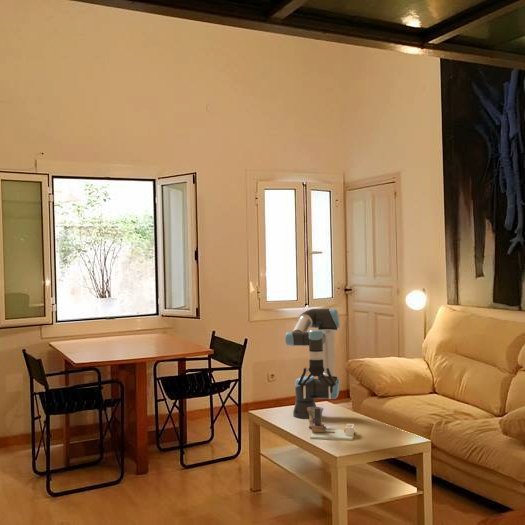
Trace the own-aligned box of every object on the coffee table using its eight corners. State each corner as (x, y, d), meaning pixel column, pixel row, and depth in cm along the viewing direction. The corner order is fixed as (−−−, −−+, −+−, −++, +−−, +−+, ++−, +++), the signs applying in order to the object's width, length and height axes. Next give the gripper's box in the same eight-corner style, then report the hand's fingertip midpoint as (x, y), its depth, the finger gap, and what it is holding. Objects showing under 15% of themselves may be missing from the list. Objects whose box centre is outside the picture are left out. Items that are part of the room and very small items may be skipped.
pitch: (314, 430, 340) (314, 427, 340) (354, 431, 335) (354, 428, 335) (310, 438, 324) (310, 435, 324) (352, 440, 319) (352, 437, 319)
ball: (348, 424, 330) (351, 431, 330) (342, 427, 331) (345, 433, 331) (348, 426, 327) (350, 432, 327) (342, 428, 328) (344, 435, 327)
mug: (326, 428, 343) (326, 409, 343) (310, 430, 341) (310, 410, 341) (318, 423, 355) (317, 404, 355) (303, 424, 352) (302, 406, 352)
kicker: (313, 429, 335) (312, 407, 335) (326, 429, 334) (325, 407, 334) (311, 431, 330) (311, 409, 330) (325, 432, 329) (324, 409, 329)
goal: (346, 431, 333) (346, 423, 333) (354, 431, 332) (354, 424, 332) (345, 435, 325) (345, 427, 325) (353, 435, 324) (352, 428, 324)
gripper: (292, 359, 331) (293, 399, 331) (338, 360, 326) (339, 400, 326) (294, 357, 339) (295, 396, 338) (340, 358, 333) (341, 397, 333)
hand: (317, 398), depth 332 cm, fingers open, 13 cm apart
